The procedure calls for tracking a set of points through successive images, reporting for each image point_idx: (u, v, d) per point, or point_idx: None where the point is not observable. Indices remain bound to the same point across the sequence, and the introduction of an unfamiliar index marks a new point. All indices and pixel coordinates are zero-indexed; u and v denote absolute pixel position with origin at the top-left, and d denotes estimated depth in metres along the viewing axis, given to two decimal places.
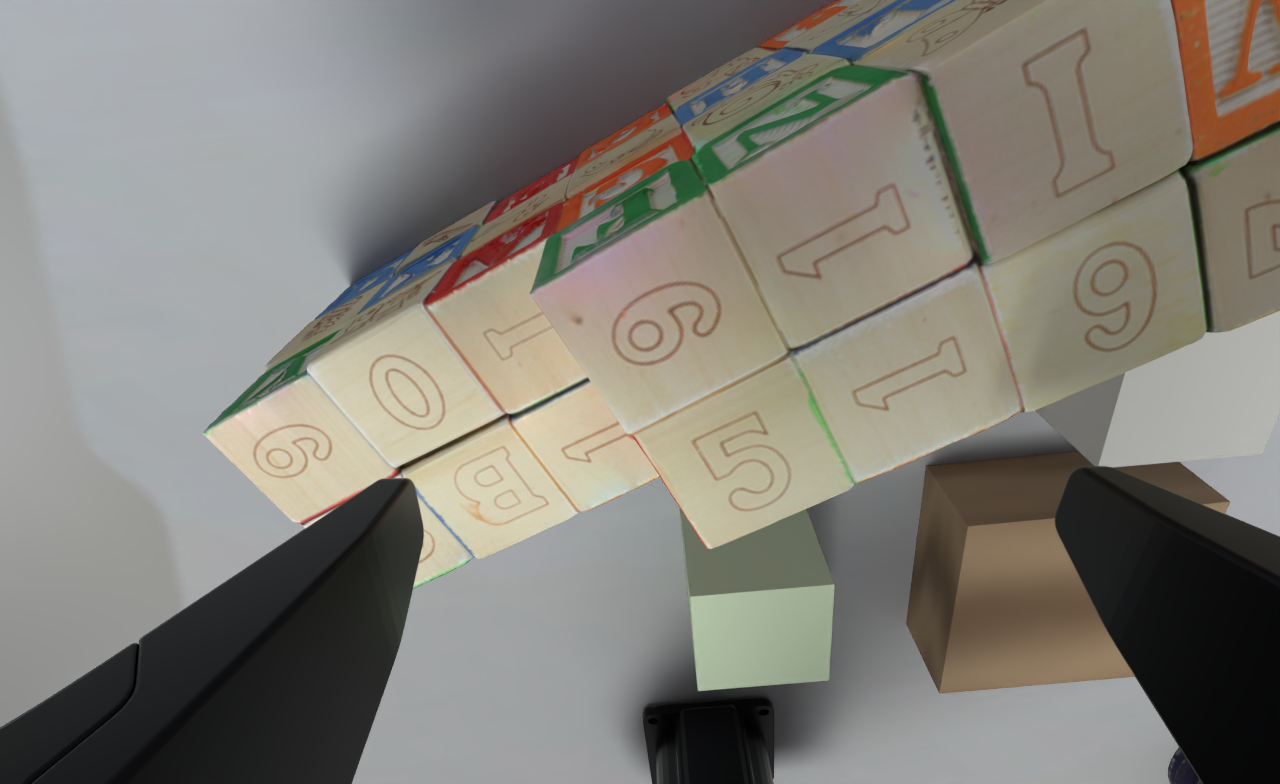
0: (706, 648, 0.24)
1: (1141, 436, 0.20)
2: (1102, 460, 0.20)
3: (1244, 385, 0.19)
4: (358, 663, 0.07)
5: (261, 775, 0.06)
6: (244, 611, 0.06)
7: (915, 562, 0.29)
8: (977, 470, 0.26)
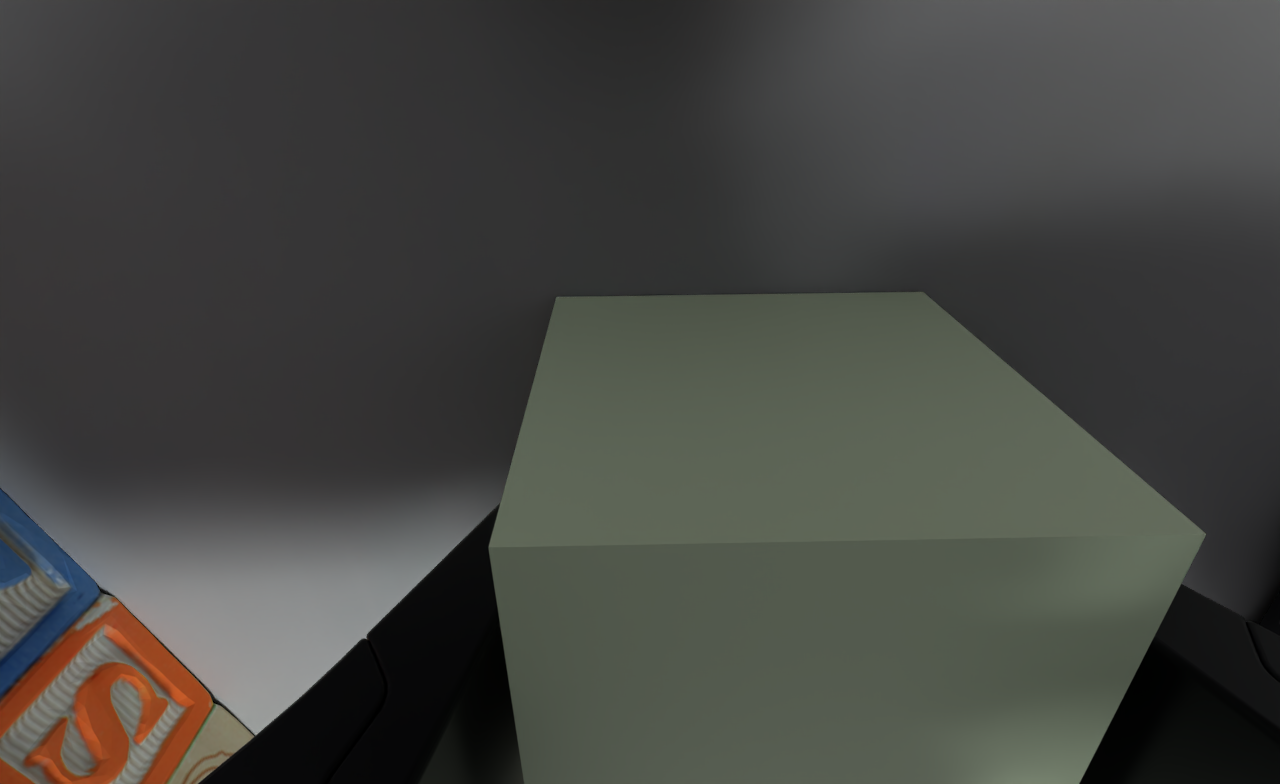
0: None
1: None
2: None
3: None
4: None
5: (486, 769, 0.06)
6: (459, 606, 0.06)
7: None
8: None
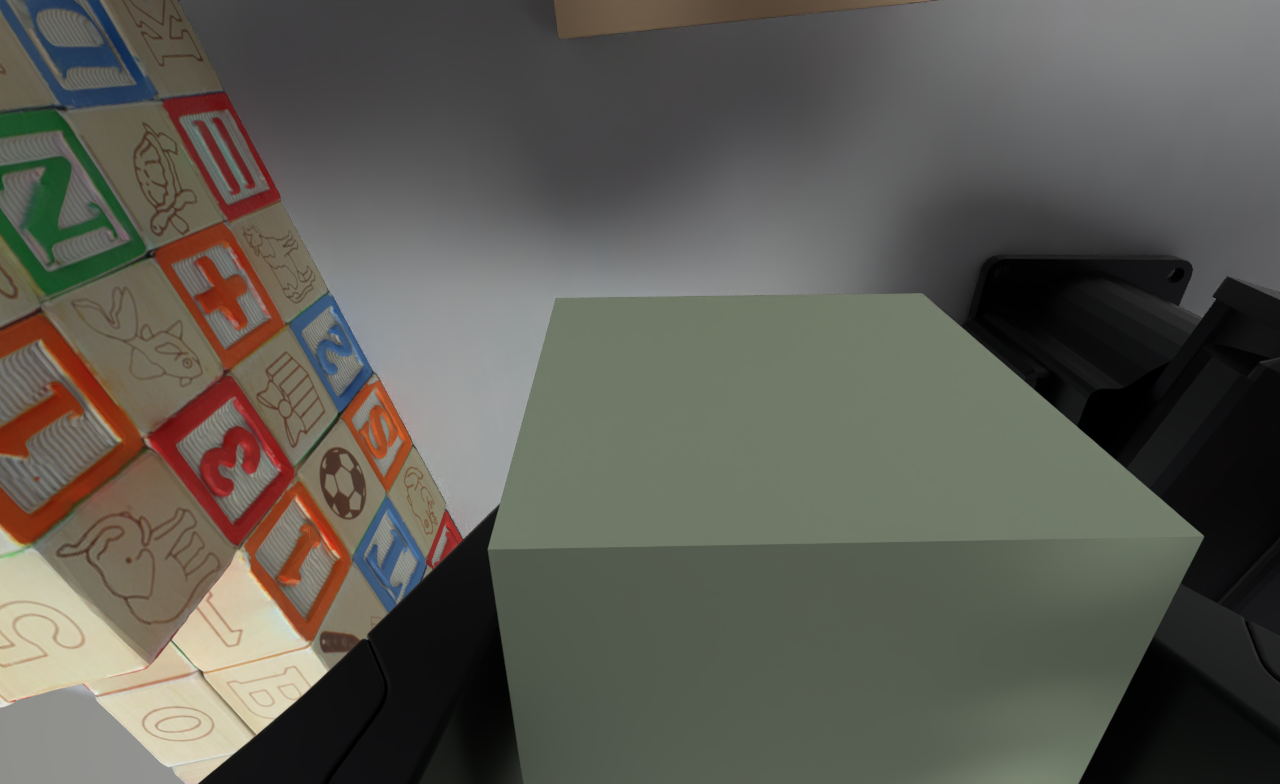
0: None
1: None
2: None
3: None
4: None
5: (486, 770, 0.06)
6: (460, 607, 0.06)
7: None
8: None
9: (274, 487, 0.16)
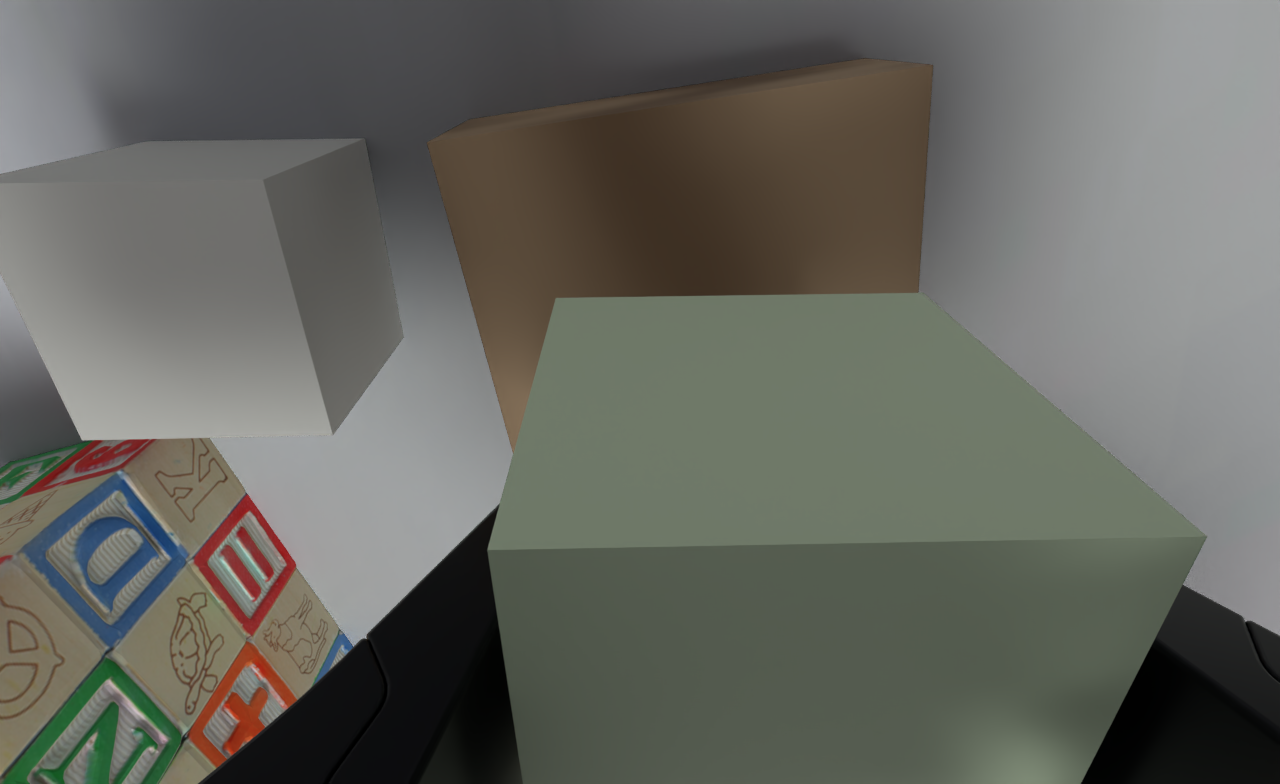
0: None
1: (263, 390, 0.13)
2: (317, 431, 0.13)
3: (135, 263, 0.12)
4: None
5: (486, 770, 0.06)
6: (460, 607, 0.06)
7: None
8: None
9: None
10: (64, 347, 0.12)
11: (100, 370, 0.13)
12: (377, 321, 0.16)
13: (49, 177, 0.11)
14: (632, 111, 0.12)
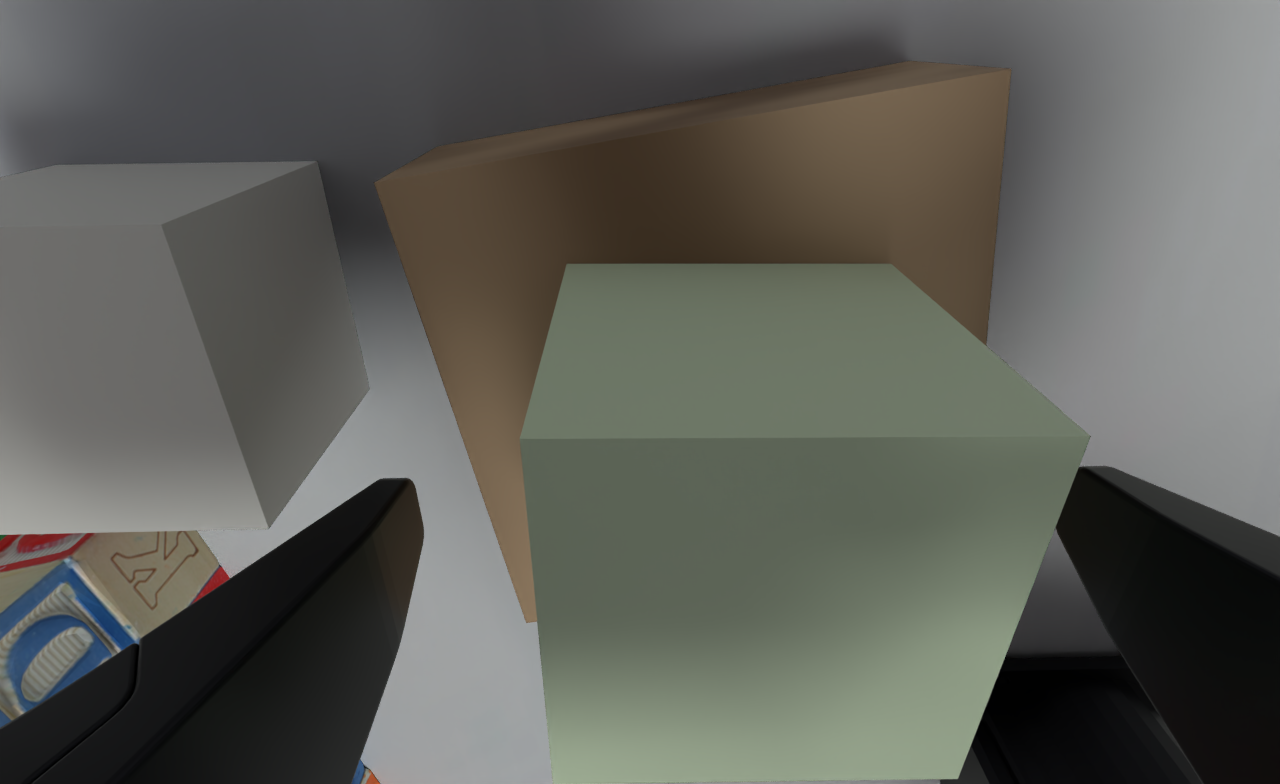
0: (774, 758, 0.08)
1: (180, 478, 0.10)
2: (249, 524, 0.11)
3: (6, 328, 0.09)
4: (358, 662, 0.07)
5: (261, 774, 0.06)
6: (244, 610, 0.06)
7: None
8: None
9: None
10: None
11: None
12: (333, 377, 0.13)
13: None
14: (629, 137, 0.09)
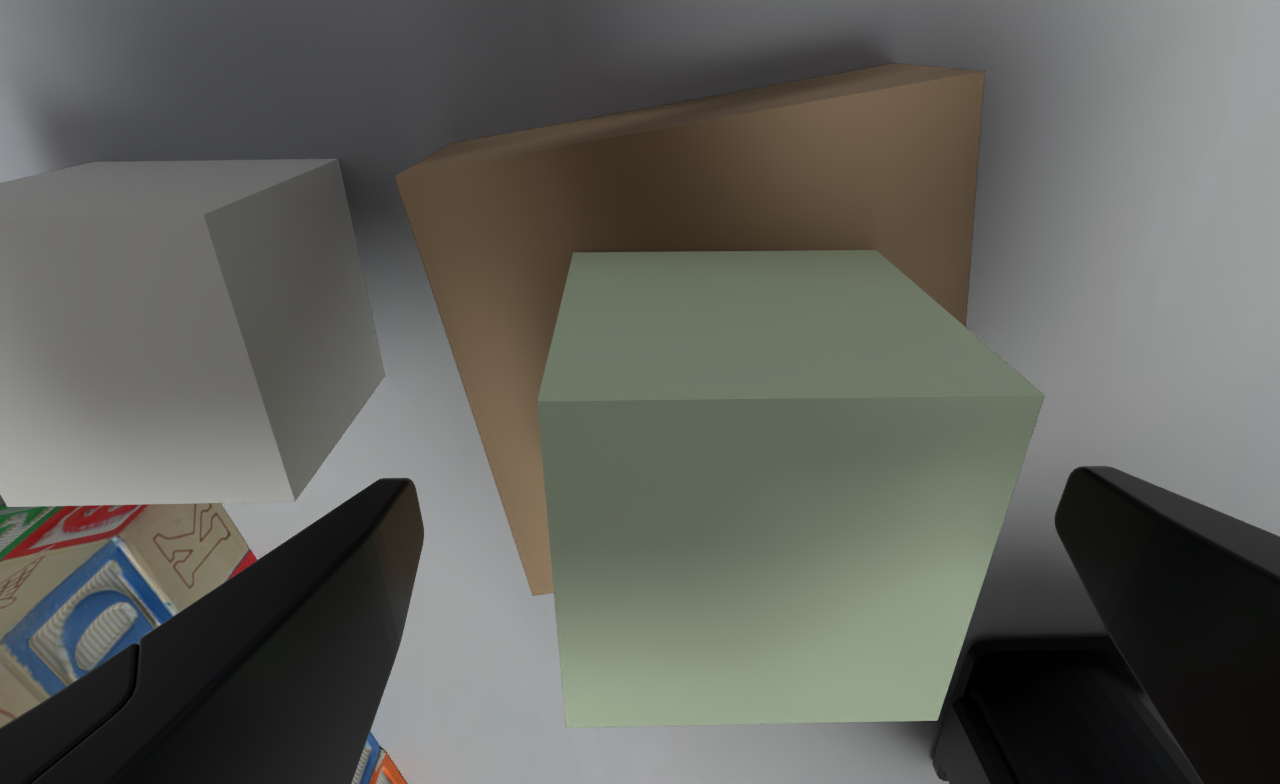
0: (768, 702, 0.09)
1: (213, 452, 0.11)
2: (276, 497, 0.12)
3: (58, 311, 0.10)
4: (358, 663, 0.07)
5: (261, 775, 0.06)
6: (244, 611, 0.06)
7: None
8: None
9: None
10: None
11: (23, 430, 0.11)
12: (352, 362, 0.14)
13: None
14: (631, 134, 0.10)
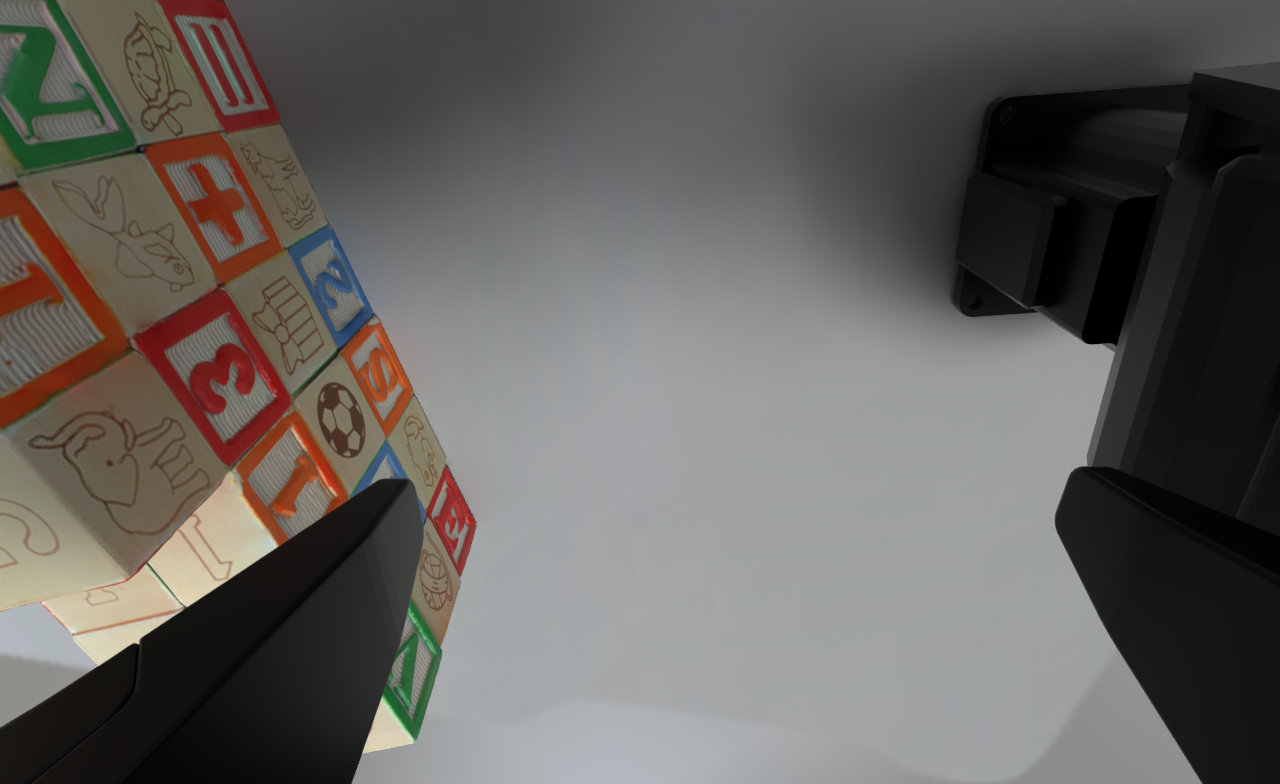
0: None
1: None
2: None
3: None
4: (358, 662, 0.07)
5: (261, 774, 0.06)
6: (244, 610, 0.06)
7: None
8: None
9: (269, 412, 0.15)
10: None
11: None
12: None
13: None
14: None
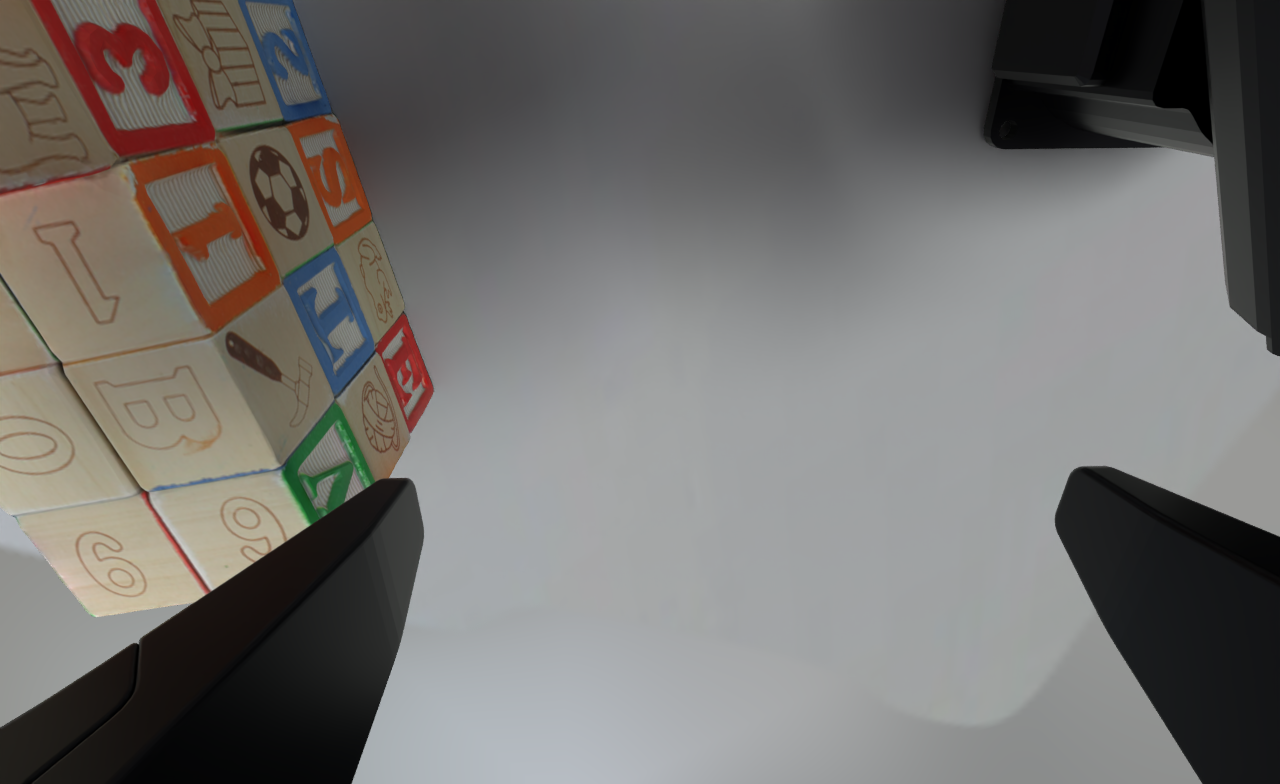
0: None
1: None
2: None
3: None
4: (358, 663, 0.07)
5: (261, 775, 0.06)
6: (244, 611, 0.06)
7: None
8: None
9: (184, 130, 0.12)
10: None
11: None
12: None
13: None
14: None
